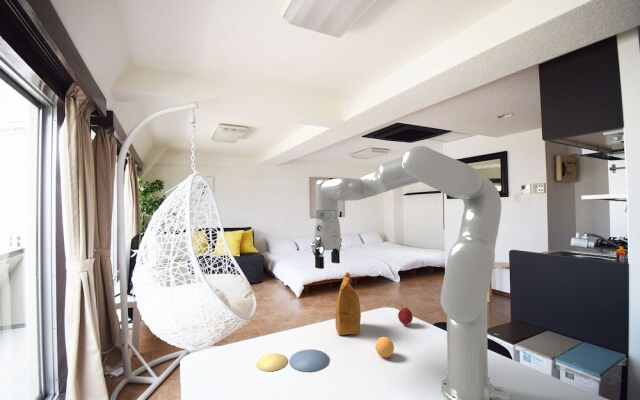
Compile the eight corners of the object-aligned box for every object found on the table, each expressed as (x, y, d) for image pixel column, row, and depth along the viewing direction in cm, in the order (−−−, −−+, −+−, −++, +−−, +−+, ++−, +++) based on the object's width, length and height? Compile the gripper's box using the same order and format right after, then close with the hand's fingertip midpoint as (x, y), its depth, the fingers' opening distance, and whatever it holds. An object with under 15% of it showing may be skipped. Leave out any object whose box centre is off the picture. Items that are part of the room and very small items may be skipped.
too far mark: (293, 359, 95) (293, 358, 95) (274, 375, 86) (274, 374, 86) (270, 351, 100) (270, 350, 100) (249, 365, 91) (249, 365, 91)
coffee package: (359, 323, 122) (358, 271, 122) (361, 337, 109) (360, 279, 110) (336, 323, 123) (335, 271, 123) (335, 336, 110) (334, 278, 110)
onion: (415, 326, 118) (415, 307, 118) (404, 329, 115) (403, 309, 115) (406, 321, 123) (406, 302, 123) (395, 323, 121) (395, 304, 121)
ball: (396, 354, 97) (396, 336, 97) (391, 362, 92) (390, 343, 92) (379, 349, 100) (378, 332, 100) (372, 357, 95) (372, 339, 95)
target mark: (336, 356, 96) (336, 355, 96) (316, 376, 85) (316, 376, 85) (303, 346, 103) (303, 346, 103) (281, 364, 92) (281, 363, 92)
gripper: (321, 217, 90) (322, 272, 90) (349, 214, 104) (349, 262, 104) (302, 216, 94) (303, 269, 94) (331, 214, 109) (332, 260, 108)
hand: (327, 265), depth 99 cm, fingers open, 9 cm apart
